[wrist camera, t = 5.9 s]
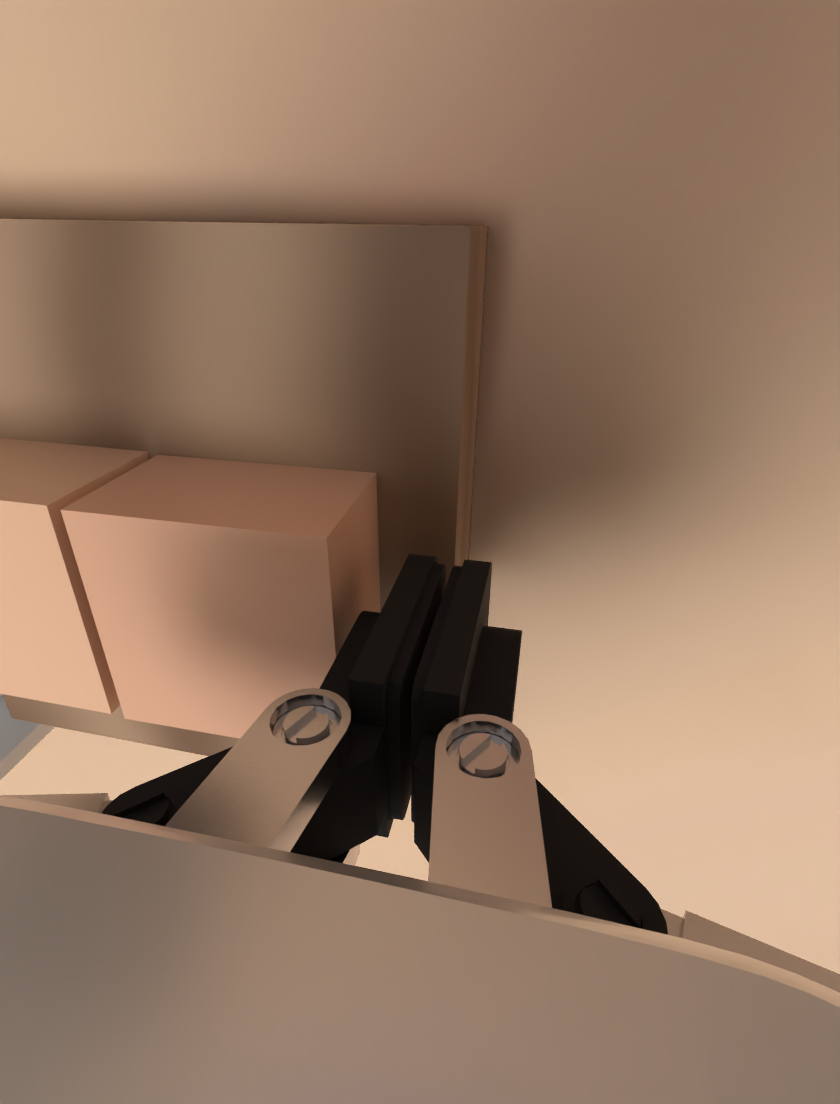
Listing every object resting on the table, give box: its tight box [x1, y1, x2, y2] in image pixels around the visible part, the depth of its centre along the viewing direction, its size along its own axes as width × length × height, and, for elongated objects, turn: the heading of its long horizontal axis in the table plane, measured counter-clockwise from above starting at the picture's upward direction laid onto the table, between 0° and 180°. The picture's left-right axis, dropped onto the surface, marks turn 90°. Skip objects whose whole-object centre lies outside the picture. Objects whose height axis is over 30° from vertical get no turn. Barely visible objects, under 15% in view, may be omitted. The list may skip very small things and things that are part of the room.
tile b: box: [0, 438, 149, 714], centre depth 14 cm, size 5×5×3 cm
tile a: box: [61, 455, 381, 739], centre depth 13 cm, size 5×5×3 cm
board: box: [0, 218, 488, 756], centre depth 16 cm, size 14×14×2 cm
